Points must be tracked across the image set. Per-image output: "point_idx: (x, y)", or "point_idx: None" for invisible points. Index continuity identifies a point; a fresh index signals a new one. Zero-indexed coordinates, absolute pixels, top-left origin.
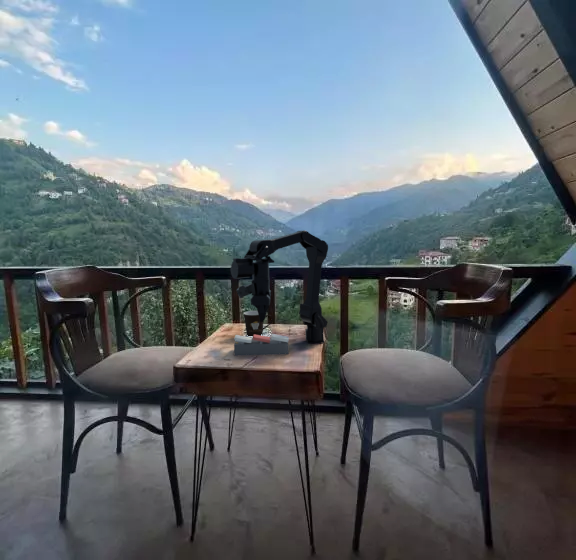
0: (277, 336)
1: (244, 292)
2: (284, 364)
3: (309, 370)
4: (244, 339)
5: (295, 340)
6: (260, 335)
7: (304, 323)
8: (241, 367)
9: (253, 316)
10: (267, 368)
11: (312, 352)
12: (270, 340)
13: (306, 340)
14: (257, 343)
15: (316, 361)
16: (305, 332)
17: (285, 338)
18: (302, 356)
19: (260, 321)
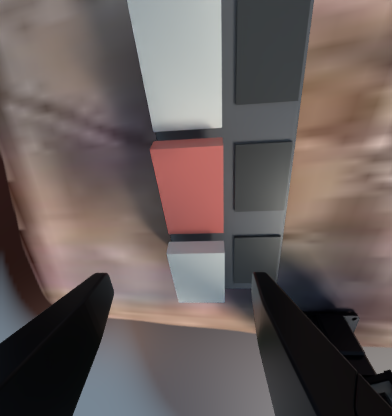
0: (191, 272)
1: None
2: (82, 245)
3: (54, 299)
4: (143, 78)
5: (353, 280)
6: (222, 187)
7: (387, 377)
8: (4, 92)
9: None
10: (31, 197)
11: (201, 314)
12: (224, 223)
13: (316, 315)
14: None
15: (124, 316)
16: (355, 337)
17: (185, 295)
18: (163, 291)
19: (91, 276)
